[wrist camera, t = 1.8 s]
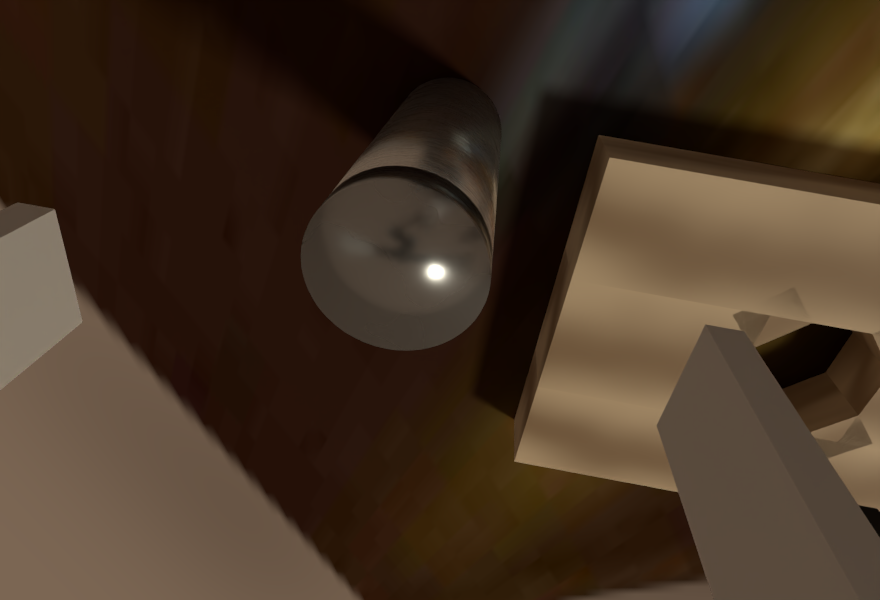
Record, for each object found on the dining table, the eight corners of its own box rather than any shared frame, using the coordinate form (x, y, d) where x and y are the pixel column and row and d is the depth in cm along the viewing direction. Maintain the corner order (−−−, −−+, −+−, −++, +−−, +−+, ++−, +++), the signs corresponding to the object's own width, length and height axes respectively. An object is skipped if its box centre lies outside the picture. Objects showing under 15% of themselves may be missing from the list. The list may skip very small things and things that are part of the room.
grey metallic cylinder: (401, 68, 22) (301, 163, 11) (511, 87, 21) (509, 200, 11) (391, 175, 24) (300, 332, 14) (490, 192, 24) (472, 364, 14)
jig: (598, 134, 22) (609, 157, 19) (1049, 213, 22) (1121, 246, 19) (514, 419, 31) (514, 461, 28) (836, 479, 30) (866, 527, 28)
